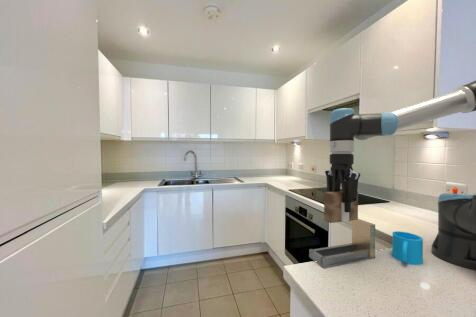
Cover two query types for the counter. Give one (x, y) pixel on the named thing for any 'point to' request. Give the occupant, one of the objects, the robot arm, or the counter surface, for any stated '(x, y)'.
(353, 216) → the door panel
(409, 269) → the counter surface
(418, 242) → the mug
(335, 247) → the door track
